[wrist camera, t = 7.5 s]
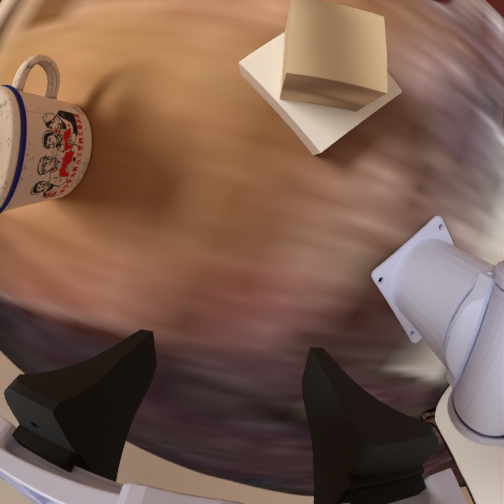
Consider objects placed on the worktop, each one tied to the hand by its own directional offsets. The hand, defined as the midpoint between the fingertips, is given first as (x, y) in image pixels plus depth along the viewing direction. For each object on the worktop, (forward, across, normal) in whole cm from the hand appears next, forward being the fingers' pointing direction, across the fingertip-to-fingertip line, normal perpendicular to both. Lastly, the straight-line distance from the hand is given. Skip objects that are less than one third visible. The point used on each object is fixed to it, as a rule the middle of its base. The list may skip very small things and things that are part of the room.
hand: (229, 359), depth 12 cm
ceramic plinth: (+10, -4, -15) cm, 19 cm away
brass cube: (+7, -4, -16) cm, 18 cm away
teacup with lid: (+10, +17, -11) cm, 23 cm away
